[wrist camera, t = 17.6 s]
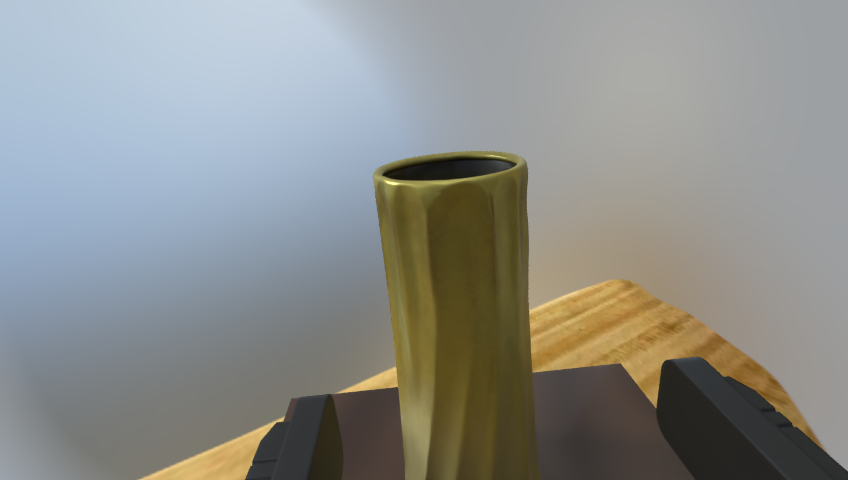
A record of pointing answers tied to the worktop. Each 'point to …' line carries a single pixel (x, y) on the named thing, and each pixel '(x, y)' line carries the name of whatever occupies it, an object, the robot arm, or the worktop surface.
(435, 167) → the vase
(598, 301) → the worktop surface
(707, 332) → the worktop surface
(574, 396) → the shelf
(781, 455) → the robot arm
